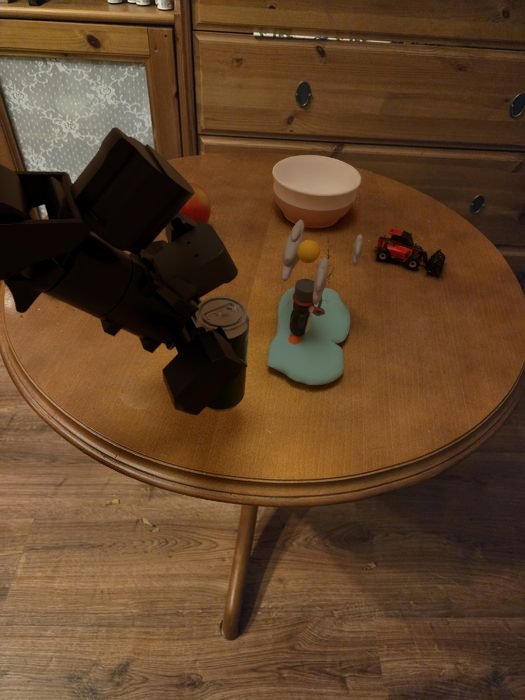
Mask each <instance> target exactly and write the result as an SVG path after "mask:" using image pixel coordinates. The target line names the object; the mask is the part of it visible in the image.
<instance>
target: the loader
mask: <svg viewBox="0 0 525 700" xmlns="http://www.w3.org/2000/svg"><path fill="white" fill-rule="evenodd" d="M388 234H389V235H390V237H386V235H387V234H384V235H383V236H382V235H379V234H378V233H376V234H375V236H376V237H377V236H379V237H378V238H377V239H378V240H377V244H376V246H374V248H375V251H376V255H375V256H376V259H377V260H378V261H380V262H386V261H388V260H389V259H390V260H391V261H392V260H393V261H396V262H400V263H403V264H405V265H406V267H407V268H408V269H409V270H411V271H414V270H416V269H417V270H418V268H420V266H421V260H420V259H422V263H423V264H424V266H425V267H426V273H427V274H428V275H432V276H437V277H441V273H442V272H443V268H444V266H445V262H446V255H445V253H444V252H442V248H439V249H437V251H435V252H434V253H433V254H431V255H430V258H428V257H429V256H428V251H426V250H424V249H423V247H422V245H419V244H418V243H417V242H416V243H415V242H414V238H415V239H416V237H417V236H418V235H417V234H416V233H413V232H408V231H406V230H399V229H395V228H389V229H388ZM413 236H415V237H414V238H413ZM417 244H418V245H417Z"/></svg>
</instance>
